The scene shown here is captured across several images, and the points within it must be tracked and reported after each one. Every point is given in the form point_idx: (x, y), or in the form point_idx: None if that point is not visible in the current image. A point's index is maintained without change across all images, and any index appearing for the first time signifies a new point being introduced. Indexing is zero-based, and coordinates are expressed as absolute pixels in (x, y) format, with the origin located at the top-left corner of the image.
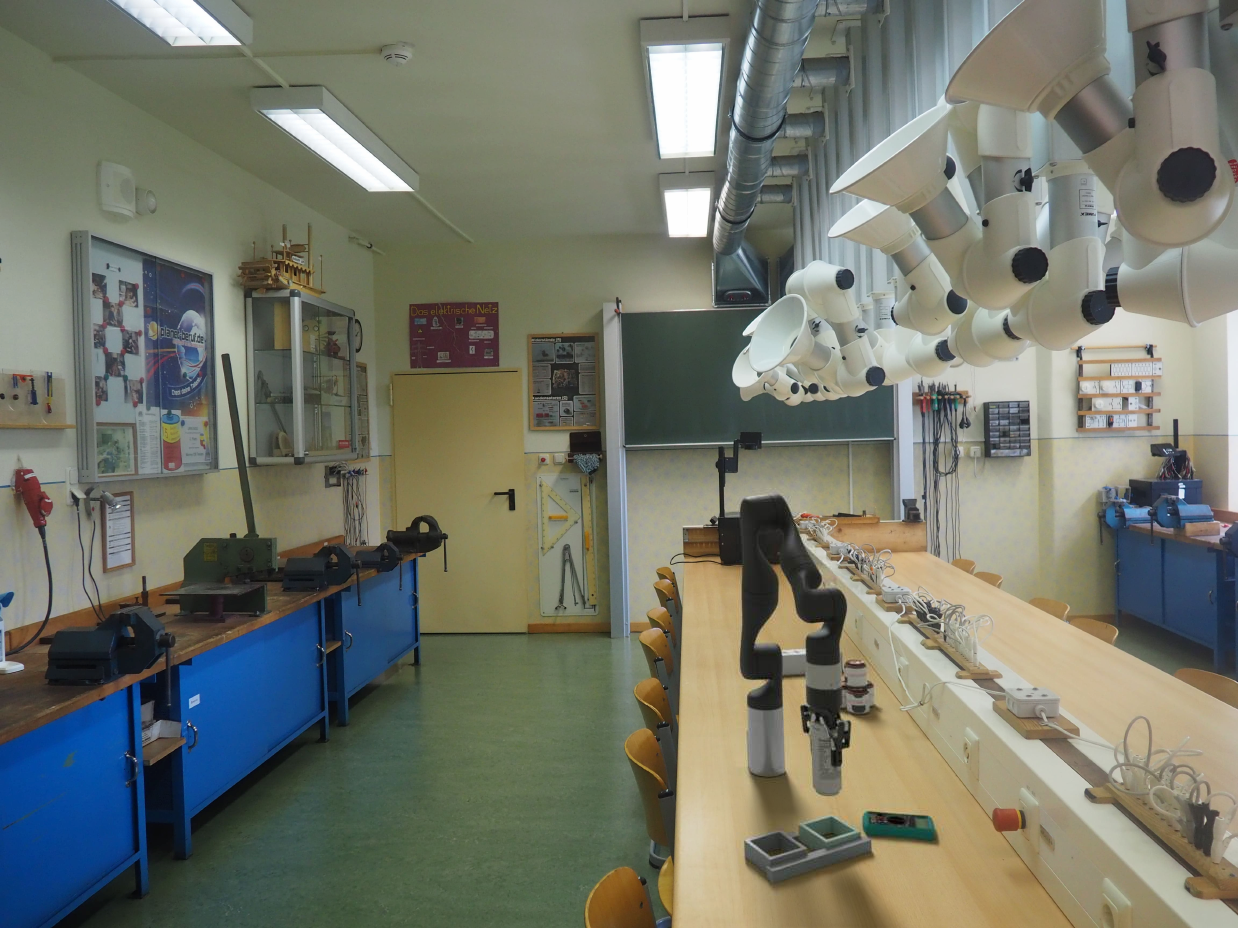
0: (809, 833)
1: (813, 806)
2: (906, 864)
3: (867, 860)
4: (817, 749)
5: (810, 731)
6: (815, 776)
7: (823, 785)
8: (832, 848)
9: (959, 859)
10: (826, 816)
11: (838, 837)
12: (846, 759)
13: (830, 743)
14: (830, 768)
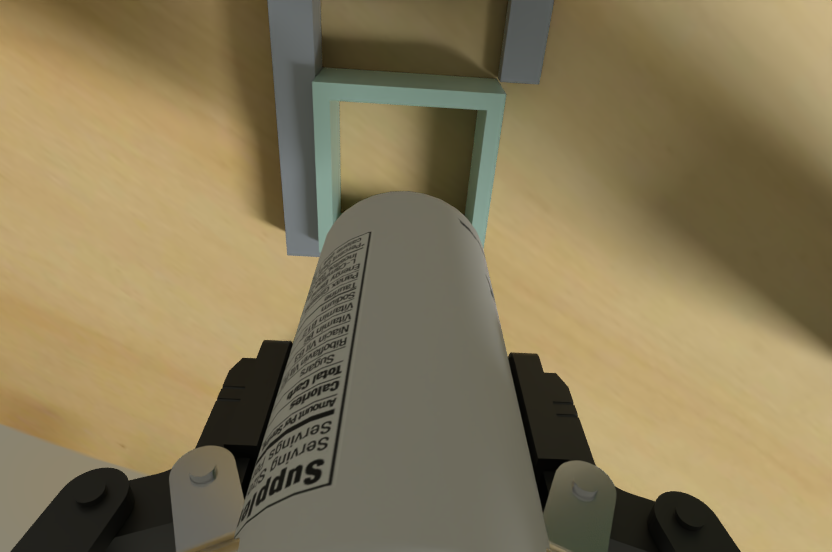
0: (428, 86)
1: (634, 288)
2: (181, 261)
3: (250, 183)
4: (360, 370)
5: (588, 532)
6: (407, 229)
7: (349, 222)
8: (299, 93)
9: (155, 380)
10: (480, 232)
11: (322, 154)
12: (743, 522)
13: (234, 494)
14: (302, 320)
